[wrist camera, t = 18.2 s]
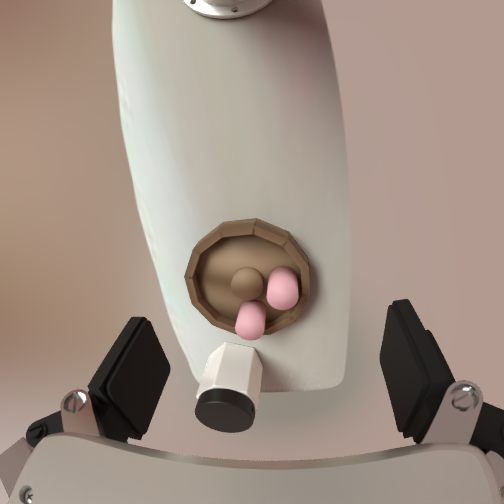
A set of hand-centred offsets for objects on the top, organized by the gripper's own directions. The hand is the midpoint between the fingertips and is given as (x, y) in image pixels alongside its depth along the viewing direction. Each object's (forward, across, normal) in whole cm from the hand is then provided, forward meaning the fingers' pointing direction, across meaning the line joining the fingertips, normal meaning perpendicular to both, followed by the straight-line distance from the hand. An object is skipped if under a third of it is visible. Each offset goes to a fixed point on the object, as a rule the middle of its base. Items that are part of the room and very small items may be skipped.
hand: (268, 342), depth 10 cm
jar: (+24, +10, +27) cm, 38 cm away
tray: (+25, +5, +11) cm, 28 cm away
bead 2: (+24, +1, +11) cm, 26 cm away
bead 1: (+23, +5, +16) cm, 29 cm away
